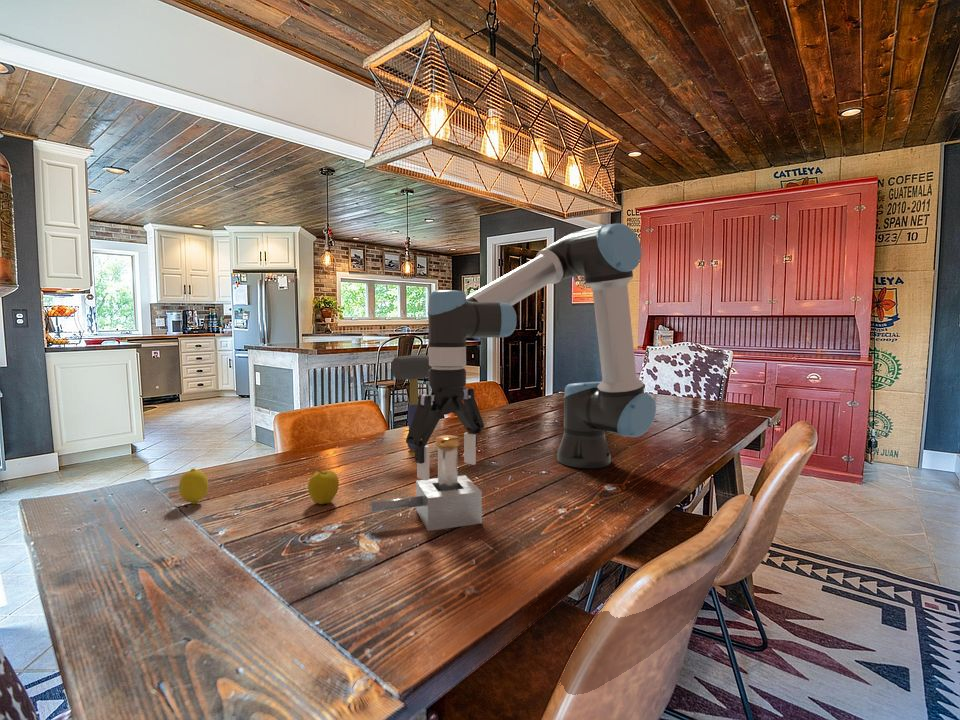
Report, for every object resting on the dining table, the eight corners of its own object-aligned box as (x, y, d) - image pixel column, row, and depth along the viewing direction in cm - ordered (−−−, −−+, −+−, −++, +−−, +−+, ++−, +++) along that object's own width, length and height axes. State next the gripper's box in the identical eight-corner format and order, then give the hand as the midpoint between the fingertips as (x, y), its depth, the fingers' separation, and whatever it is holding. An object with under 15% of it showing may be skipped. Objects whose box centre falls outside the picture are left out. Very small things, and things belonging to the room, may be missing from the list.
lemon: (173, 506, 105) (172, 470, 105) (196, 498, 111) (195, 463, 110) (192, 510, 104) (190, 473, 103) (214, 501, 109) (213, 466, 108)
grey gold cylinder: (464, 504, 100) (464, 437, 99) (448, 511, 97) (447, 442, 96) (447, 498, 104) (447, 434, 103) (431, 505, 100) (430, 438, 99)
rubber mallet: (401, 456, 146) (400, 356, 144) (390, 450, 152) (389, 355, 150) (437, 449, 153) (436, 354, 151) (425, 444, 159) (424, 353, 157)
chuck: (465, 504, 107) (465, 475, 107) (481, 523, 97) (481, 491, 97) (368, 516, 100) (368, 485, 100) (375, 538, 90) (374, 504, 90)
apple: (306, 509, 104) (305, 473, 103) (311, 499, 110) (310, 464, 110) (337, 508, 105) (336, 472, 104) (340, 497, 111) (340, 463, 111)
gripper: (474, 362, 110) (474, 454, 112) (386, 371, 91) (387, 481, 93) (500, 364, 105) (499, 460, 107) (413, 373, 86) (414, 490, 88)
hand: (447, 470), depth 100 cm, fingers open, 13 cm apart
